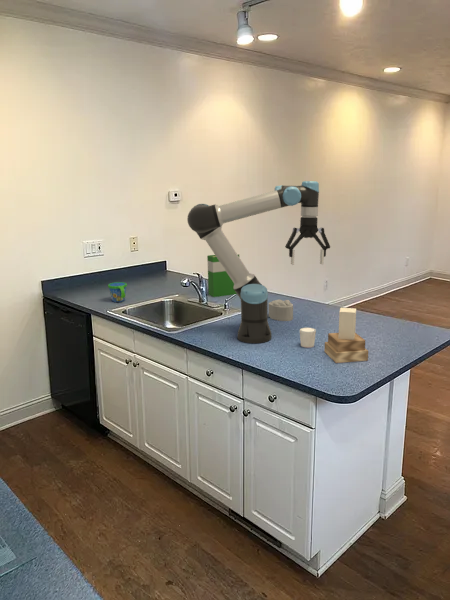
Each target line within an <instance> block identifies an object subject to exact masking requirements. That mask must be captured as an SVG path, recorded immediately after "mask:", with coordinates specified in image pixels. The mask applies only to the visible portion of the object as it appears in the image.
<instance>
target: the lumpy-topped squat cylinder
mask: <svg viewBox="0 0 450 600" xmlns="http://www.w3.org/2000/svg"><path fill="white" fill-rule="evenodd" d="M269 317H270V318H269ZM268 318H269V319H271V320H274V321H280V322H290V321H293V319H294V304H293V303H292V302H291V301H290V300H289V299H285V300H282V299H276V300H272V301H270V302H268Z"/></svg>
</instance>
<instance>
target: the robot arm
mask: <svg viewBox="0 0 450 600" xmlns="http://www.w3.org/2000/svg"><path fill="white" fill-rule="evenodd" d="M319 183H320V182H318V181H316V180H314V181H313V180H312V181H311V180H305V181H303V180H302V182H301V185H276V186H275V187H274V190H273V191H269V192H265V193H261V194H258V195H254V196H250V197H247V198H243V199H240V200H236V201H235V200H234V201H233V202H232V201H231V202H229V203H224V204H221V205H218V204H216V203H215V204H211V205H208V204H206V203H198V204H196V205H194V206H193V207H192V208H191V209H190V210H189V212H188V214H187V224H188V227H189V228H190V229H191V230H192V231H193V232H195V233H196V234H197V235H198V237H199V239H200V240H204V241H205V242H206V243H207V245H208V247H209V248H210V250H211V251H212V252H213V255H216V257H217V258H218V260H219V261H220V263H221V264H222V266H223V267H224V269H225V270H226V272H227V274H228V275H229V277H230V278H231V280H232V281H233V283H234V287H233V288H234V290H235V292H236V293H237V294H236V295H237V296H238V298H239V300H240V308H241V309H240V317H241V318H240V319H241V321H240V324H239V328H238V330H237V340H238V341H240V342H242V343H248V344H262V343H267V342H269V341H271V340H272V330H271V328H270V325H269V321H268V319H269V302H268V299H269V298H268V297H269V292H268V289H267V287H266V286H265V285H263V284H262V283H261V282H260V281H259V279H258V278H257V276H256V274H254V273H251V272H250V271H249V270H248V269H247V267H246V265H245V264H244V262H243V261H242V259H241V258H240V255H239V256H238V254H237V252H236V250H235V248H234V247H233V245H232V244H231V242H230V241H229V239H228V238H227V236H226V235H225V233H224V232H223V230H222V228H223V225H224V224H226V223H230V222H234V221H237V220H238V221H239V220H242V219H244V218H248V217H251V216H252V217H253V216H256V215H260V214H263V213H266V212H270V211H274V210H278V209H281V208H285V207H293V206H296V205H298V204H300V216H301V217H300V220H299V221H300V224H299V225H300V226H299V228H298V227H293V228H292V233H291V235H290V237H289V238H288V240H287V242H286V244H285V249H287V250H288V256H289V258H290V264H291V265H292V266H293V265H295V250H294V249H295V247H296V246H298V244H299V243H300V241H301V240H303V239H304V238H305V239H308V238H310V239H312V238H313V239H314V240H315V241H316V242H317V244H318V245H319V246H320V247H321V249H320V254H319V256H320V257H319V264H320V265H324V260H325V259H324V258H325V257H327V256H326V255H327V250H328V249H330V248H331V245H330V243H329V240H328V238H327V236H326V233H325V227H318V216H319V196H320V195H319V194H320V184H319ZM298 232H299V233H300V234H299V235H298V237H297V238H296V239H295V237H296V235H297V233H298ZM317 233H320V236H321V238H322V240H321V239H320V238H319V236H318V235H317ZM294 239H295V240H294Z"/></svg>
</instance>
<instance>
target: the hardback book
mask: <svg viewBox="0 0 450 600" xmlns="http://www.w3.org/2000/svg"><path fill="white" fill-rule="evenodd" d="M237 255H238V256H239V257H240V254H237ZM206 259H207V286H208V290H207V291H208V295H209V296H210V297H212V298H218V297H226V296H232V295H237V293H236V292H235V290H234V288H233V287H234V283H233V281H232V280H231V278H230V277H229V275H228V274H227V272H226V270H225V269H224V267H223V266H222V264H221V263H220V261H219V260H218V258H217V257H216V255H215V254H211V255H209V254H208V255H207V258H206Z"/></svg>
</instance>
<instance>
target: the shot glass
mask: <svg viewBox="0 0 450 600" xmlns="http://www.w3.org/2000/svg"><path fill="white" fill-rule="evenodd" d="M316 333H317V329H316V328H313V327H301V328H300V329H299V340H300V347H302V348H314V347H315V341H316Z"/></svg>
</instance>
